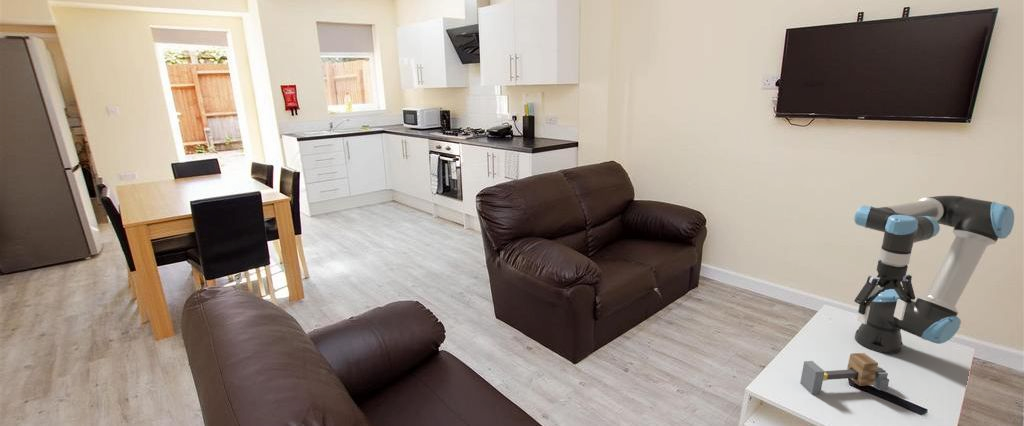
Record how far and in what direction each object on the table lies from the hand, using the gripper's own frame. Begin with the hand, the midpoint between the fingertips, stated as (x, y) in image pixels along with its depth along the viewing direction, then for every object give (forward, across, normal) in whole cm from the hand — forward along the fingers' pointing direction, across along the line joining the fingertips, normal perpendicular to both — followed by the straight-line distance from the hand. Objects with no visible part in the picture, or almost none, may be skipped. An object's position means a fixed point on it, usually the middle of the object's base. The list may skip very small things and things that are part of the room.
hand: (880, 320), depth 155 cm
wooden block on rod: (+22, +4, +1) cm, 23 cm away
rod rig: (+24, +9, +1) cm, 26 cm away
